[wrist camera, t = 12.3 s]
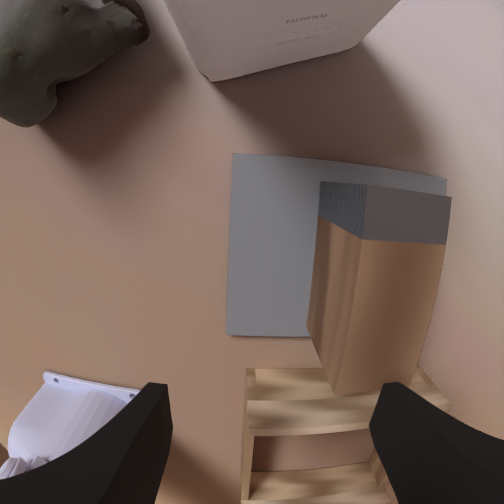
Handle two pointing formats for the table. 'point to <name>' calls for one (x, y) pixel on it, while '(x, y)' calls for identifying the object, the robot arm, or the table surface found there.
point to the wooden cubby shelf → (314, 422)
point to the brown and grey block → (374, 282)
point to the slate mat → (286, 235)
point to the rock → (58, 48)
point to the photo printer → (270, 31)
